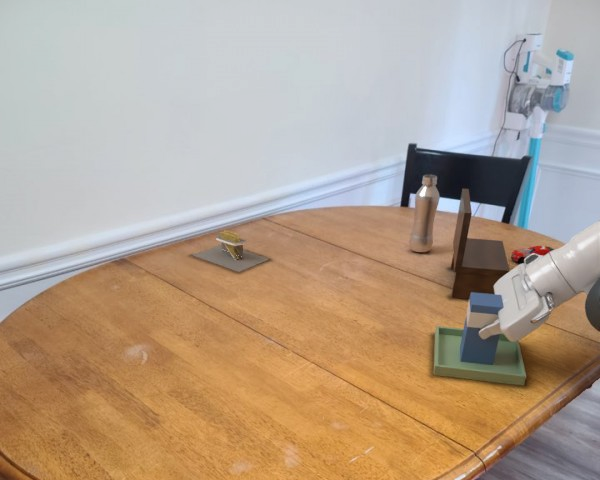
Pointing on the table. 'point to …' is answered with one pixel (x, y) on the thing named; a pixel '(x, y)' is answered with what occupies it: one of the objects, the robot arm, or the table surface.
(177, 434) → the table surface
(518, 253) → the race car
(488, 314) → the box
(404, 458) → the table surface
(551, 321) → the table surface
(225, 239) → the platform
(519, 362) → the tray
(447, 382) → the table surface
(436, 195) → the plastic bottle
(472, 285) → the wooden toy chair
